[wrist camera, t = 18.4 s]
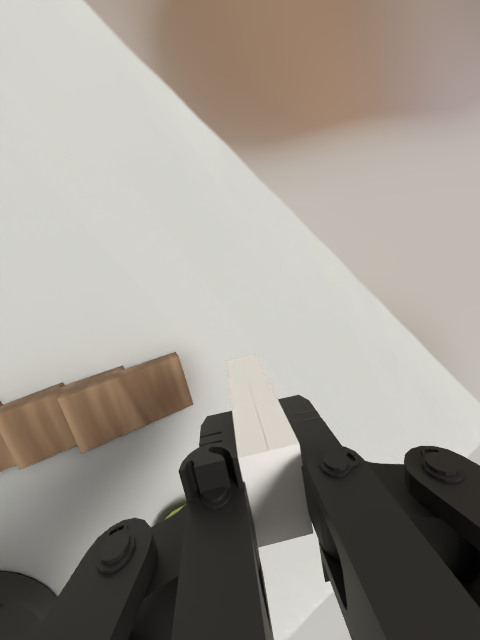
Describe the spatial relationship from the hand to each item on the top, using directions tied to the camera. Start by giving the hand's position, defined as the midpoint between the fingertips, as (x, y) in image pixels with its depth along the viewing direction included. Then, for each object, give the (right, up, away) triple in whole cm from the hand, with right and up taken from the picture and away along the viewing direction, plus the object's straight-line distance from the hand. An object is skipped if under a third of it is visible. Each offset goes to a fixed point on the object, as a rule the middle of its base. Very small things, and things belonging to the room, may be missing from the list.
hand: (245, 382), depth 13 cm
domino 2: (-11, -4, +13) cm, 17 cm away
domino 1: (-6, -3, +13) cm, 14 cm away
